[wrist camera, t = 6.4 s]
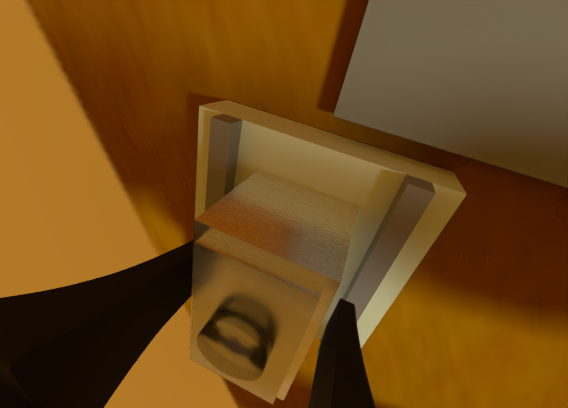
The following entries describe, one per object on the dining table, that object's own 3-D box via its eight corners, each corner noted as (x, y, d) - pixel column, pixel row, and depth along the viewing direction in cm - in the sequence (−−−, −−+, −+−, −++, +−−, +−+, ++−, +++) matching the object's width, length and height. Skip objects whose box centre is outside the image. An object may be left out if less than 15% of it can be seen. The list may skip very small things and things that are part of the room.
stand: (454, 172, 12) (473, 205, 9) (359, 323, 18) (353, 372, 15) (227, 99, 14) (185, 108, 11) (212, 256, 21) (183, 287, 18)
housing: (311, 313, 16) (272, 434, 11) (239, 279, 17) (170, 376, 12) (358, 205, 12) (332, 318, 6) (258, 169, 13) (165, 242, 7)
